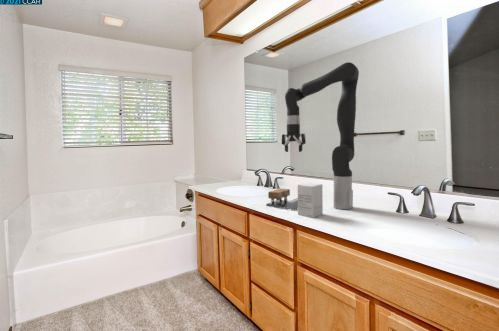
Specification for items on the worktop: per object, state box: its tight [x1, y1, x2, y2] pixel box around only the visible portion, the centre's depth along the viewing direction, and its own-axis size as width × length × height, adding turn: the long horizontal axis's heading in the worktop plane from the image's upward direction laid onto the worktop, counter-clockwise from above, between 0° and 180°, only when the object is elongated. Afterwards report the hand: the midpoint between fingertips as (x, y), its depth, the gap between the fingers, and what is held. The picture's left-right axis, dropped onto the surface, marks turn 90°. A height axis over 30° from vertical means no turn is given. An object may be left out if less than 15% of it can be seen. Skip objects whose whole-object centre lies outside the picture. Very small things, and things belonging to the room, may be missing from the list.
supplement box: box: [297, 182, 324, 218], centre depth 134 cm, size 9×9×15 cm
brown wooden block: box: [267, 188, 291, 200], centre depth 158 cm, size 14×6×4 cm, turn 145°
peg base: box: [265, 196, 289, 208], centre depth 158 cm, size 9×14×4 cm, turn 145°
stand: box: [286, 197, 298, 211], centre depth 151 cm, size 14×3×4 cm, turn 144°
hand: (293, 151), depth 160 cm, fingers open, 8 cm apart
